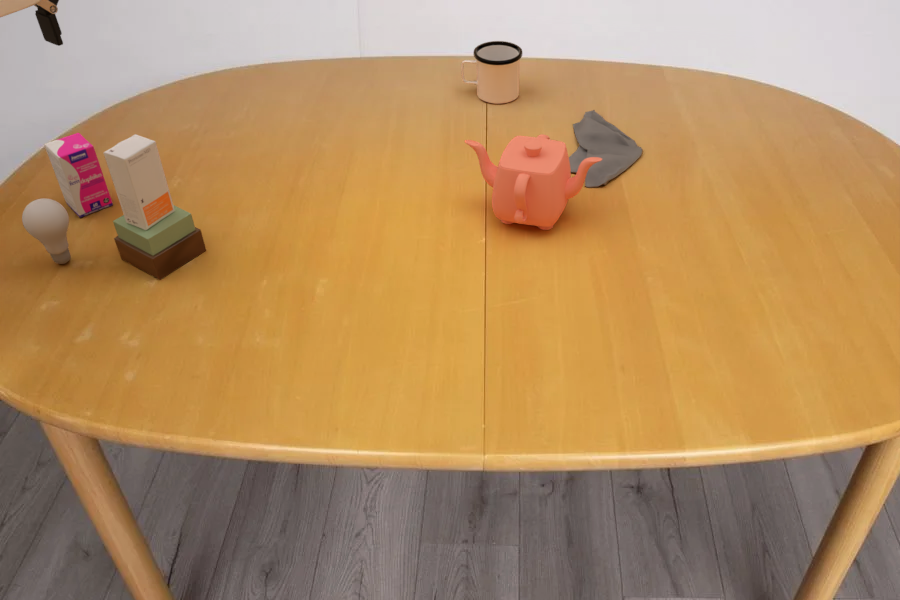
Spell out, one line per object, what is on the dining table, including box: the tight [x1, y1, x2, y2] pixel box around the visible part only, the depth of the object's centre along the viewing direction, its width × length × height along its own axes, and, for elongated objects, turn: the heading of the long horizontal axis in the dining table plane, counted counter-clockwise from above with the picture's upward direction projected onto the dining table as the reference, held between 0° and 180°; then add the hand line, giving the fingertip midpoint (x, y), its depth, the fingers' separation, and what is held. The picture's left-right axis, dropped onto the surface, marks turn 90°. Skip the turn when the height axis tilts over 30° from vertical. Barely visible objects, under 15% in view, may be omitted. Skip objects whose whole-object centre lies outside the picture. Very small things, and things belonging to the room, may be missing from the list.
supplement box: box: [43, 132, 114, 219], centre depth 141 cm, size 6×6×12 cm
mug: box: [460, 40, 523, 105], centre depth 171 cm, size 12×10×9 cm
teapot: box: [464, 133, 602, 231], centre depth 139 cm, size 15×17×13 cm
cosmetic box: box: [102, 133, 175, 230], centre depth 126 cm, size 6×4×12 cm
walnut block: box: [113, 226, 207, 281], centre depth 133 cm, size 9×9×4 cm
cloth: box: [568, 109, 643, 188], centre depth 157 cm, size 26×14×2 cm, turn 168°
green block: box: [112, 204, 196, 256], centre depth 131 cm, size 8×8×3 cm
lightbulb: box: [21, 197, 72, 265], centre depth 130 cm, size 6×6×11 cm
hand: (21, 56), depth 113 cm, fingers open, 9 cm apart
